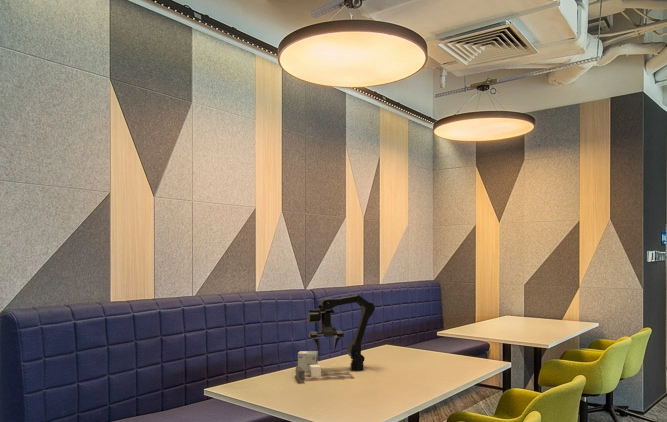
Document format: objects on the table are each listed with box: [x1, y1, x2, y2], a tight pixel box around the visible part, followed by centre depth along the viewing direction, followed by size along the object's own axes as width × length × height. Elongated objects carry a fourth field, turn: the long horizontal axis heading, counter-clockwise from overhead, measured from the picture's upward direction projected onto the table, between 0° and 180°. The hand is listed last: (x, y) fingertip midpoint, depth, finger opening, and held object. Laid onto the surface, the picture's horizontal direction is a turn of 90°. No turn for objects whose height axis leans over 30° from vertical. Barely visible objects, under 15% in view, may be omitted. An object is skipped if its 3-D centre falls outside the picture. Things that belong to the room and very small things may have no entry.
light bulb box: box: [297, 350, 319, 372], centre depth 292 cm, size 11×7×11 cm, turn 84°
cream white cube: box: [309, 363, 322, 377], centre depth 274 cm, size 5×6×6 cm
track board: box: [294, 365, 355, 385], centre depth 275 cm, size 30×14×6 cm, turn 101°
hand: (326, 350), depth 286 cm, fingers open, 9 cm apart
